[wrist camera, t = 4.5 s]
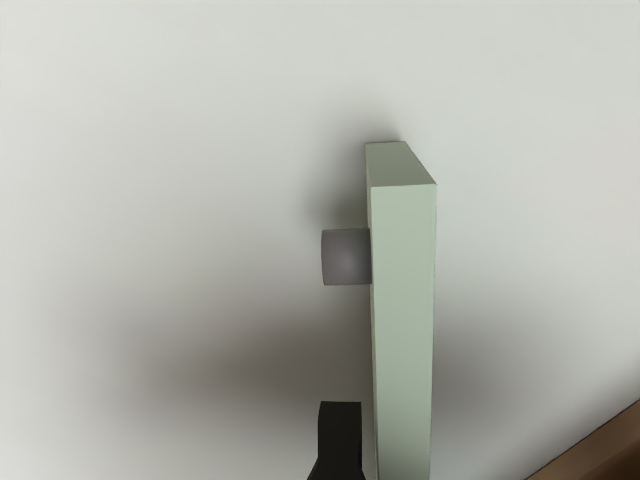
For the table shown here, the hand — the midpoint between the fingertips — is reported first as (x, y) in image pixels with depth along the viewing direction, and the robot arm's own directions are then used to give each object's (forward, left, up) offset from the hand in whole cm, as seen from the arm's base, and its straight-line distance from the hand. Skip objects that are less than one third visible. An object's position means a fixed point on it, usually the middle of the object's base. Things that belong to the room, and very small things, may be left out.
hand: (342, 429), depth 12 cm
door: (0, -1, -2) cm, 2 cm away
